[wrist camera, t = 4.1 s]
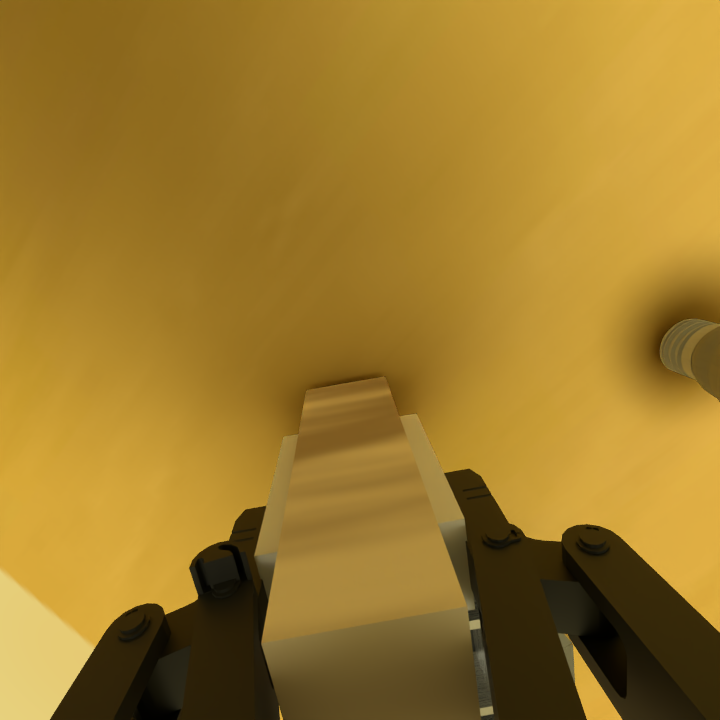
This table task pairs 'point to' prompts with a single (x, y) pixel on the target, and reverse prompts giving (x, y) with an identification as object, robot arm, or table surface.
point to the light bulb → (694, 352)
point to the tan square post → (364, 575)
